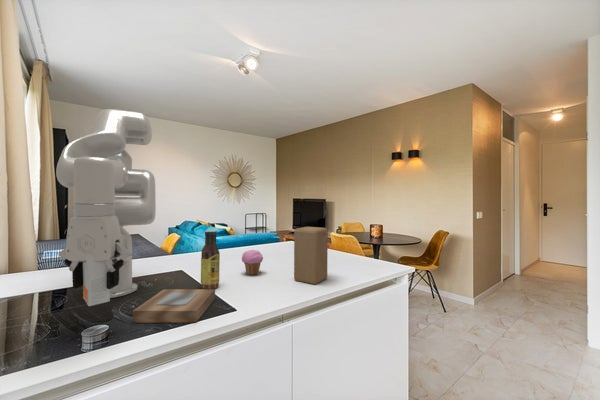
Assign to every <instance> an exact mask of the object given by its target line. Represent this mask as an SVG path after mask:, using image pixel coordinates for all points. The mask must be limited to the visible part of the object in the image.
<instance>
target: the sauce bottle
mask: <svg viewBox="0 0 600 400" xmlns="http://www.w3.org/2000/svg"><path fill="white" fill-rule="evenodd" d="M217 235H218V232H217V231H216V230H204V236H205V237H204V239H205V240H204V241H205V242H204V246H203V247H202V250H201V258H200V284H201V285H200V287H201V289H217V288H218V287H219V285H220V284H219V283H220V265H221V263H220V260H221V259H220V255H221V254H220V251H219V248H218V244H217Z"/></svg>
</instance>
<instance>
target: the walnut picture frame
mask: <svg viewBox="0 0 600 400" xmlns="http://www.w3.org/2000/svg"><path fill="white" fill-rule="evenodd" d="M215 300H216V288H214V289H202V288H201V289H199V288H195V289H189V288H188V289H185V288H184V289H179V288H177V289H175V288H174V289H173V288H172V289H171V288H169V289H167V288H166V289H165V288H164V289H162V290H161V291H159V292H157V293H156V294H155V295H154V296H152V297H151V298H149V299H148V300H147V301H145V302H143V303H142V304H141V305H139V306H138V307H137V308H135V309H133V310H132V323H134V324H135V323H141V324H142V323H147V324H149V323H154V324H155V323H157V324H158V323H160V324H161V323H168V324H169V323H174V324H175V323H178V324H179V323H181V324H182V323H189V324H190V323H192V324H193V323H197V322H198V321H199V320H200V319H201V317H202V316H203V315H204V314H205V312H206V311H207V310H208V309H209V307H210V306H211V304H212V303H213V302H214V301H215Z"/></svg>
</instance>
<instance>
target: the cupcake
mask: <svg viewBox="0 0 600 400" xmlns="http://www.w3.org/2000/svg"><path fill="white" fill-rule="evenodd" d="M263 260H264V257H263V254H262V253H261V251H259V250H255V249H249V250H246V251H244V252H243V253H242V257H241V261H242V263H244V269H245V272H246V274H247V275H249V276H250V275H252V276H253V275H254V276H255V275H259V273H260V267H261V263H263Z"/></svg>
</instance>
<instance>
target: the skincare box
mask: <svg viewBox="0 0 600 400" xmlns="http://www.w3.org/2000/svg"><path fill="white" fill-rule="evenodd" d="M107 272H109V269H108V267H107V265H106V264H105V262H95V261H93V253H87V255H86V262H83V286H82V290H83V291H82V295H83V296H82V298H83V299H84V301H85V303H86V304H87V306H88V307H92V306H96V305H101V304H104V303H105V304H106V303H108V302H110V301H111V298H110V289H107Z"/></svg>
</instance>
